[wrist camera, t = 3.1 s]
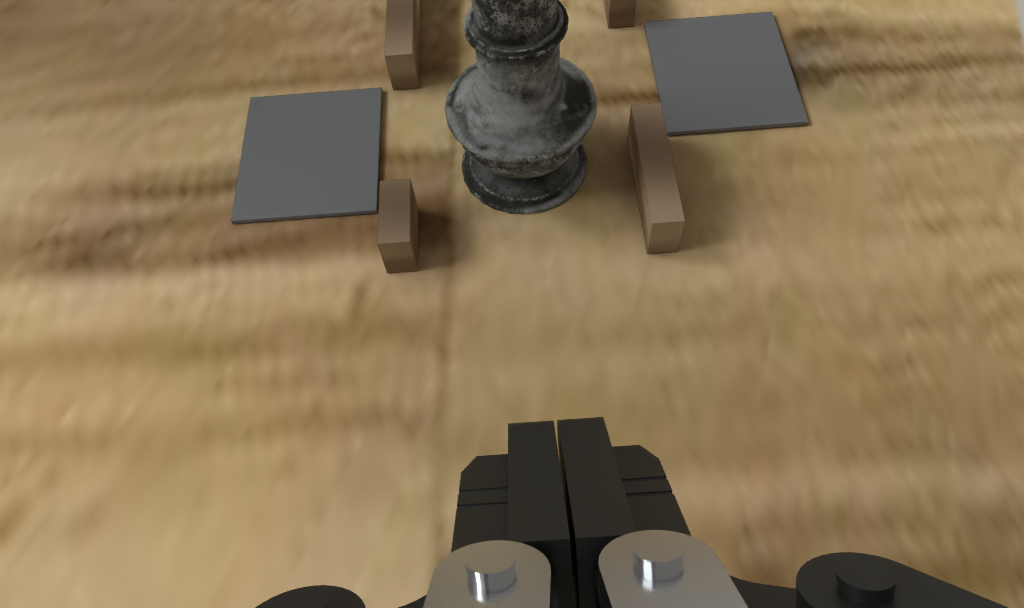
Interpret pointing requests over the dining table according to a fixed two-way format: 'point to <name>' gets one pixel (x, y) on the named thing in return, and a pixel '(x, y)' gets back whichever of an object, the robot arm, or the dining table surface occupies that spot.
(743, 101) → the pads
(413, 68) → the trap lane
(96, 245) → the dining table surface
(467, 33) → the grey chess piece
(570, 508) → the robot arm
